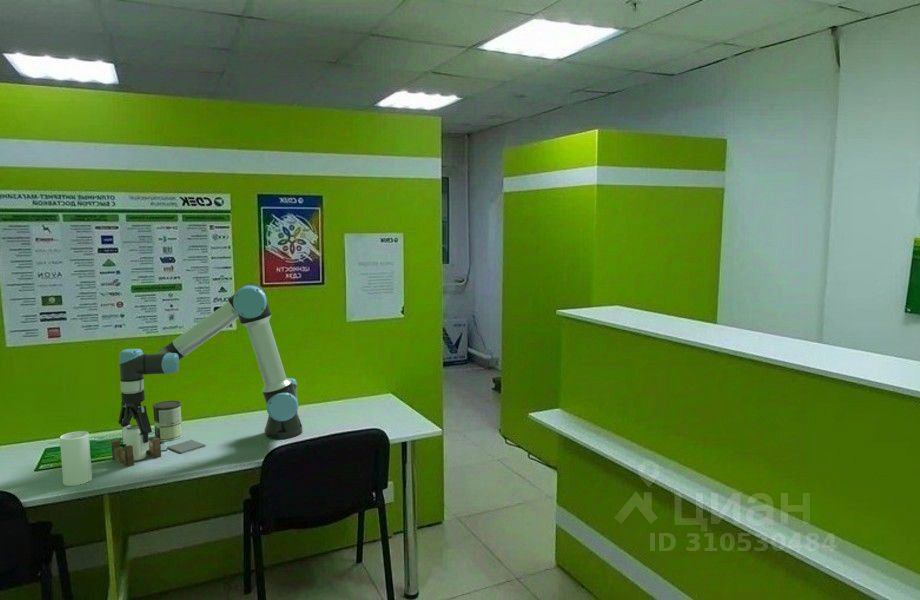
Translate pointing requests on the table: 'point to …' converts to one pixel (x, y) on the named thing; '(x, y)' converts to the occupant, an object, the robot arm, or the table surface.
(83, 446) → the cup
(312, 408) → the table surface
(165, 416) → the coffee can
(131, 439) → the can
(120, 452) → the brown cradle stand
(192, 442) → the pad
